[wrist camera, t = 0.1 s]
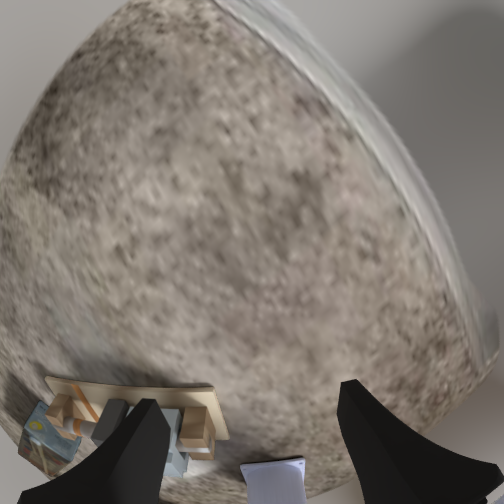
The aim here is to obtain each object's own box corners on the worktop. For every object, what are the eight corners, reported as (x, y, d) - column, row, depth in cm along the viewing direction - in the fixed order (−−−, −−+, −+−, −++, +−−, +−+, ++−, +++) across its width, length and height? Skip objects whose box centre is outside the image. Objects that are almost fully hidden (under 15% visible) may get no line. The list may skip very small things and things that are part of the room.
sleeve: (178, 409, 21) (168, 458, 15) (191, 436, 22) (185, 480, 17) (130, 406, 21) (113, 450, 15) (147, 433, 22) (135, 474, 17)
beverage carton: (87, 432, 25) (72, 467, 18) (62, 456, 29) (52, 480, 22) (40, 397, 23) (19, 429, 17) (28, 430, 27) (15, 453, 20)
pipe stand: (213, 386, 21) (209, 426, 17) (229, 435, 24) (228, 469, 19) (46, 375, 21) (28, 400, 17) (77, 421, 24) (65, 445, 19)
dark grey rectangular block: (125, 400, 21) (108, 442, 16) (145, 432, 22) (133, 470, 17) (108, 398, 21) (90, 438, 16) (129, 430, 22) (116, 467, 17)
